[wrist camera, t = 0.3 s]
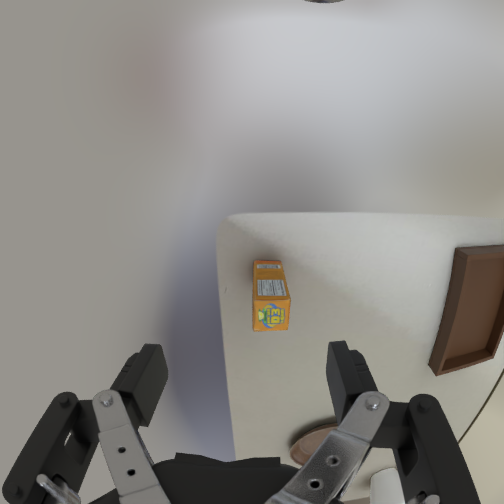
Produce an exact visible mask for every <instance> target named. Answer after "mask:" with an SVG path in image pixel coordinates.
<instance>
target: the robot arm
mask: <svg viewBox="0 0 504 504" xmlns="http://www.w3.org/2000/svg"><path fill="white" fill-rule="evenodd" d="M326 376H327V382H328V386H329V390H330V394H331V398H332V403H333V407H334V411H335V416H336V420H337V425H338V427H337V429H332V430H331V431H330V432H329V433H328V435H327V436H326V437H325V439H324V440H323V441H322V443H321V444H320V445H319V446H318V448H317V449H316V450H315V451H314V453H313V454H312V455H311V456H310V458H309V459H308V460H307V461H306V462H305V464H304V465H303V466H302V467H301V468H300V469H298V468H295V467H293V466H289V465H285V464H280V457H267V458H249V459H244V460H238V461H233V462H222V461H219V460H215V459H212V458H208V457H205V456H202V455H193V454H184V453H176V455H175V459H170V460H165V461H161V462H159V463H156V464H154V462H153V461H152V459H151V457H150V455H149V453H148V451H147V449H146V447H145V445H144V443H143V441H142V439H141V436H140V434H139V432H138V428H139V426H145V427H148V426H149V424H150V421H151V419H152V416H153V414H154V411H155V409H156V406H157V404H158V401H159V399H160V396H161V394H162V392H163V389H164V387H165V384H166V382H167V379H168V368H167V365H166V361H165V357H164V354H163V350H162V347H161V345H160V344H144V346H143V347H142V349H141V351H140V352H139V353H135V354H133V355H132V356H131V357H130V358H129V359H128V360H127V362H126V363H125V365H124V367H123V368H122V370H121V372H120V373H119V375H118V376H117V378H116V379H115V381H114V383H113V384H112V386H111V388H110V390H104V391H101V392H99V393H98V394H96V395H95V396H94V398H93V400H78V398H77V397H76V395H75V394H74V393H72V392H63V393H60V394H58V395H57V396H56V397H55V398H54V399H53V401H52V402H51V404H50V405H49V407H48V409H47V410H46V412H45V413H44V415H43V416H42V418H41V419H40V421H39V423H38V424H37V426H36V428H35V429H34V431H33V433H32V434H31V436H30V437H29V439H28V441H27V443H26V444H25V446H24V448H23V449H22V451H21V453H20V455H19V456H18V458H17V460H16V462H15V463H14V466H13V467H12V469H11V471H10V473H9V475H8V477H7V479H6V480H5V482H4V484H3V487H2V493H3V496H4V498H5V500H7V502H9V503H10V504H81V501H80V497H79V495H78V492H79V490H80V487H81V484H82V482H83V479H84V477H85V474H86V472H87V469H88V466H89V464H90V462H91V459H92V457H93V454H94V452H95V450H96V447H97V445H98V443H99V442H100V444H101V447H102V450H103V453H104V456H105V459H106V462H107V465H108V468H109V471H110V473H111V476H112V479H113V481H114V484H115V486H116V488H115V489H113V490H112V491H110V492H108V493H107V494H105V495H103V496H101V497H100V498H98V499H96V500H94V501H92V502H90V503H89V504H344V503H342V502H341V501H340V500H341V498H342V497H343V495H344V494H345V492H346V491H347V489H348V488H349V486H350V485H351V483H352V481H353V479H354V478H355V476H356V475H357V473H358V471H359V470H360V468H361V467H362V465H363V463H364V462H365V460H366V458H367V457H368V455H369V453H370V451H371V450H372V448H373V447H376V448H392V450H393V454H394V457H395V461H396V465H397V469H398V474H399V478H400V482H401V486H402V491H403V496H404V500H405V504H481V503H480V500H479V497H478V494H477V491H476V489H475V486H474V483H473V480H472V478H471V475H470V472H469V470H468V467H467V464H466V462H465V460H464V457H463V455H462V452H461V450H460V447H459V445H458V443H457V440H456V438H455V436H454V434H453V431H452V429H451V427H450V425H449V423H448V420H447V418H446V416H445V414H444V412H443V410H442V408H441V406H440V404H439V402H438V400H437V399H436V398H435V397H433V396H431V395H428V394H418V395H416V396H414V397H412V398H411V400H410V402H409V403H403V402H392V401H389V399H388V398H387V397H386V396H385V395H384V394H382V393H380V392H378V389H377V387H376V384H375V382H374V380H373V377H372V375H371V373H370V371H369V368H368V366H367V365H366V361H365V359H364V357H363V355H362V354H361V353H359V352H358V351H357V350H349V349H348V346H347V344H346V341H334V342H329V345H328V355H327V364H326ZM69 432H70V433H71V435H70V437H69V439H68V441H67V443H66V445H64V444H65V440H66V438H67V436H68V434H69Z"/></svg>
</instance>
